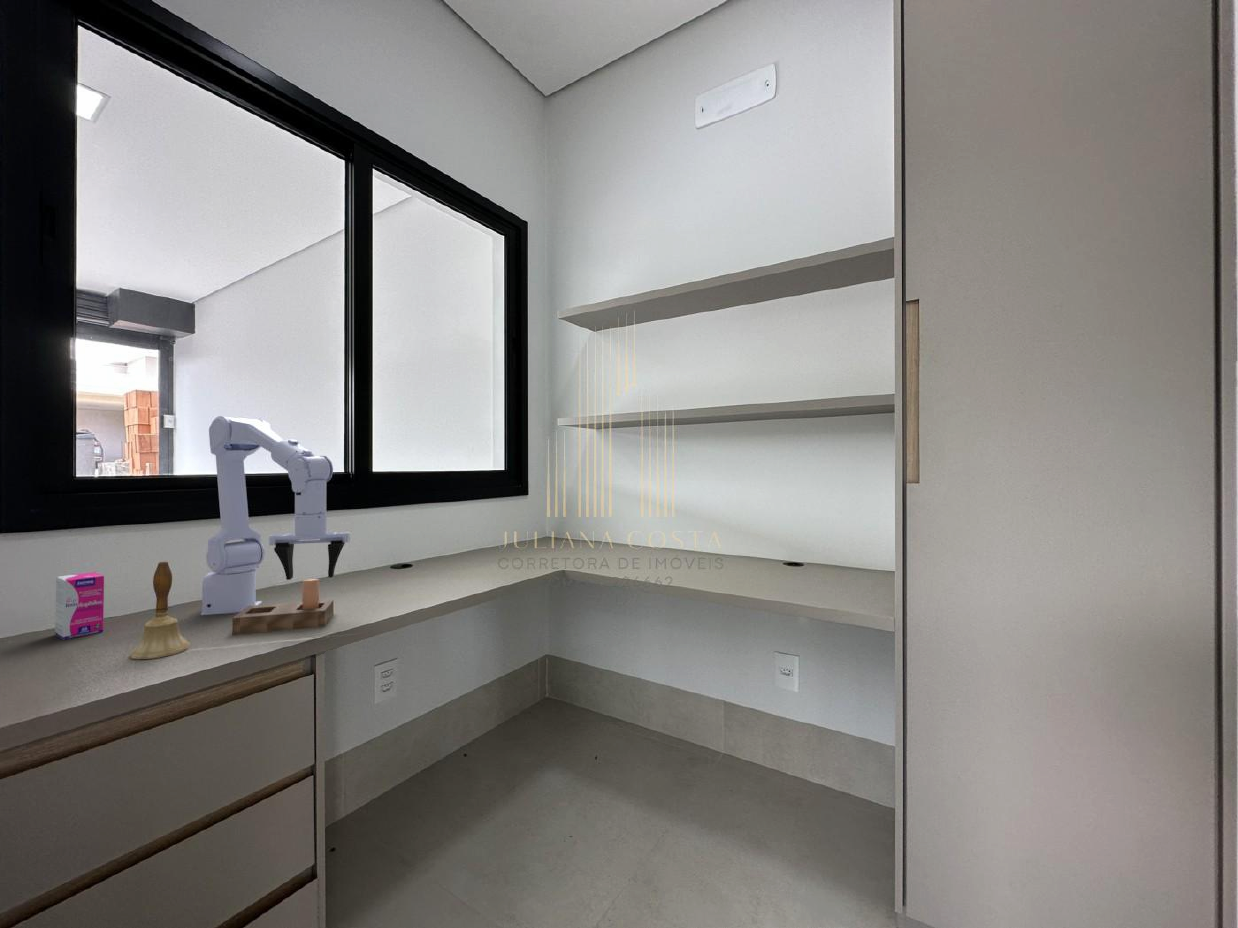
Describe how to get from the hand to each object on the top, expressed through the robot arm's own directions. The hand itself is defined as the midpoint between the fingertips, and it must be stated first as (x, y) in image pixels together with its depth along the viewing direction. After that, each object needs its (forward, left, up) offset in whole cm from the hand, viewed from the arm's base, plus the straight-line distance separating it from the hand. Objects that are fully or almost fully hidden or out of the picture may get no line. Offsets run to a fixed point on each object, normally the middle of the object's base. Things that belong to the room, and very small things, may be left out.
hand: (310, 577), depth 110 cm
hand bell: (-21, -10, -10) cm, 26 cm away
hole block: (-4, 0, -10) cm, 11 cm away
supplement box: (-41, +7, -10) cm, 43 cm away
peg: (0, 0, -10) cm, 10 cm away
